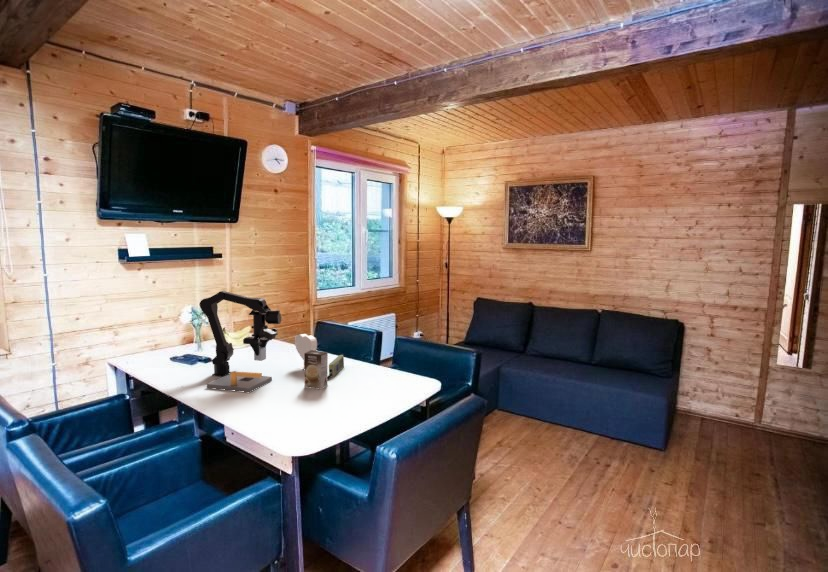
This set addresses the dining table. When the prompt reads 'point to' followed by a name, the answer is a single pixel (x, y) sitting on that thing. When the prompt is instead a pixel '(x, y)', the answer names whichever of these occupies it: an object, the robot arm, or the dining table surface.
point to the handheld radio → (336, 366)
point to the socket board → (239, 383)
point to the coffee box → (315, 369)
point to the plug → (260, 354)
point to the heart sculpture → (305, 344)
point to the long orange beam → (242, 374)
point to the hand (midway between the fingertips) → (260, 354)
